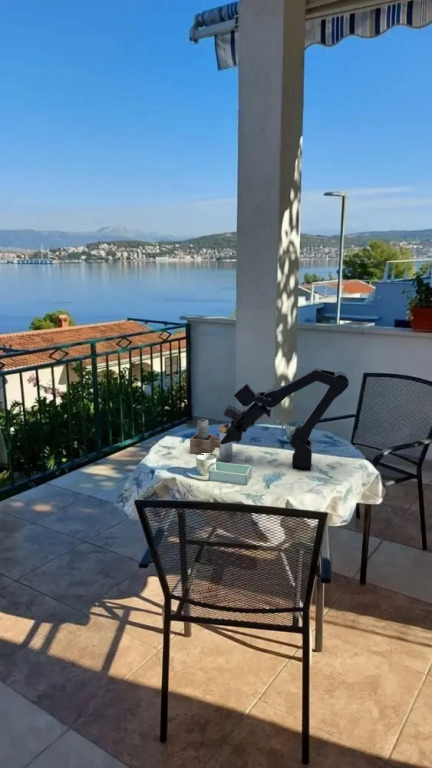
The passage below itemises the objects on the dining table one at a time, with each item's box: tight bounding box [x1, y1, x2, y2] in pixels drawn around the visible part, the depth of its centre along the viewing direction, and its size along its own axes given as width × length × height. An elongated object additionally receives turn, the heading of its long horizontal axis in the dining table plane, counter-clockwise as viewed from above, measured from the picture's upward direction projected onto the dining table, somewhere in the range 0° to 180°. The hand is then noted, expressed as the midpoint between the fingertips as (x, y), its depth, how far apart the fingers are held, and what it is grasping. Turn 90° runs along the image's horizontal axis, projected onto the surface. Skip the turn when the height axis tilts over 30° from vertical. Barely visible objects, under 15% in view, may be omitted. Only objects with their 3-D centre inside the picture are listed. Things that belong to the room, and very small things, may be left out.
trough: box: [208, 461, 253, 486], centre depth 173 cm, size 13×9×4 cm, turn 74°
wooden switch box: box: [215, 436, 219, 449], centre depth 205 cm, size 8×6×3 cm
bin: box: [189, 418, 216, 455], centre depth 197 cm, size 8×8×13 cm
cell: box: [218, 422, 234, 463], centre depth 188 cm, size 5×5×14 cm
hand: (222, 441), depth 188 cm, fingers closed on cell, 5 cm apart
